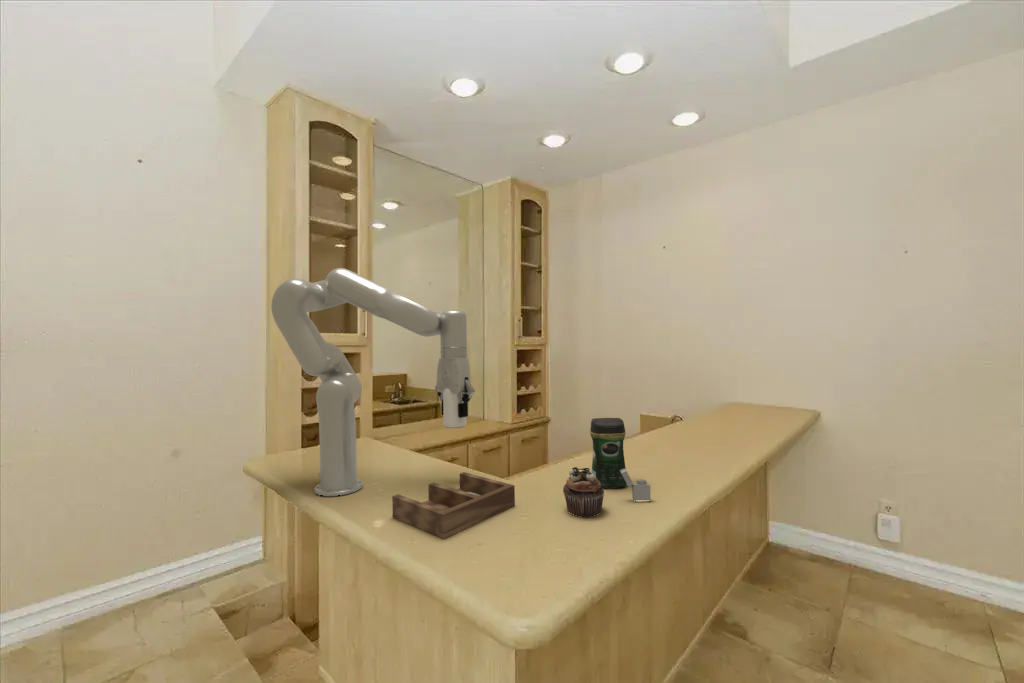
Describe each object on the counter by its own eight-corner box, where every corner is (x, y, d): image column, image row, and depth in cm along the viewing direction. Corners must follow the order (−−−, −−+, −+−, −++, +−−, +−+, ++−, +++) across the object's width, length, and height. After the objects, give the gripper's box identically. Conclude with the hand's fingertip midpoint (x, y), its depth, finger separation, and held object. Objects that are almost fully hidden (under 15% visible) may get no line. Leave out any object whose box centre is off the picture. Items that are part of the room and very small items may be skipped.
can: (468, 424, 129) (467, 383, 129) (463, 428, 122) (463, 385, 122) (446, 424, 129) (446, 383, 129) (441, 428, 123) (440, 385, 123)
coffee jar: (623, 479, 125) (621, 415, 125) (629, 489, 117) (628, 420, 117) (589, 480, 125) (587, 415, 125) (593, 489, 117) (592, 420, 117)
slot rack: (392, 517, 101) (392, 496, 101) (464, 490, 119) (463, 472, 119) (444, 539, 90) (443, 514, 90) (514, 505, 107) (514, 485, 107)
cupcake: (610, 517, 99) (609, 473, 99) (568, 520, 98) (567, 475, 98) (598, 502, 108) (597, 462, 108) (560, 504, 108) (559, 463, 107)
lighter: (648, 499, 109) (648, 467, 109) (650, 502, 108) (650, 469, 108) (620, 499, 110) (619, 468, 110) (621, 502, 108) (621, 470, 108)
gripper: (424, 353, 128) (425, 414, 128) (465, 354, 117) (466, 420, 117) (443, 352, 134) (444, 411, 134) (484, 353, 123) (485, 416, 123)
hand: (454, 415), depth 126 cm, fingers closed on can, 6 cm apart
